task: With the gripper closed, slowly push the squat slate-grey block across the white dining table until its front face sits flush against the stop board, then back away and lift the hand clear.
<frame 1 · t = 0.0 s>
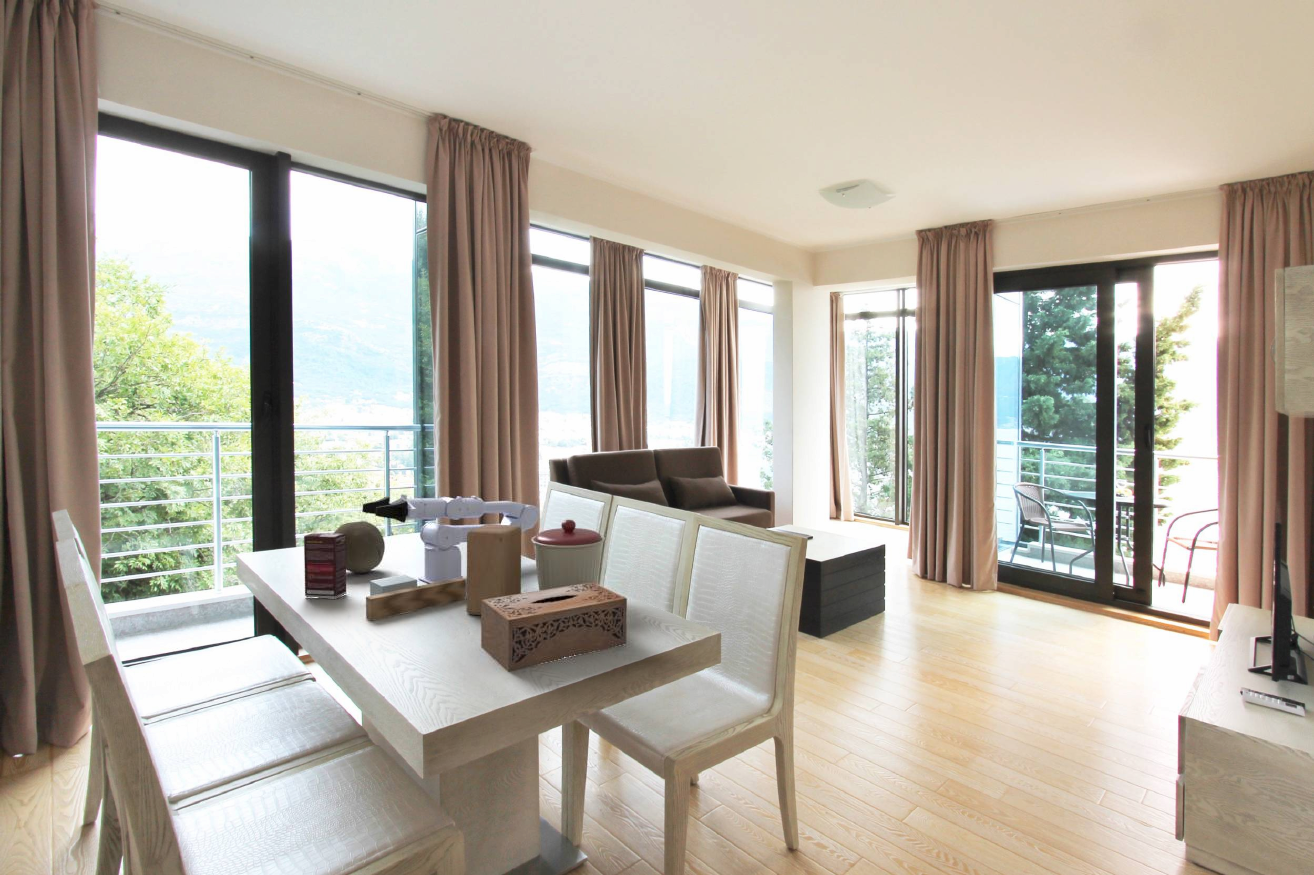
hand: (369, 509, 165), 22 cm above the table, tool horizontal, fingers open, 7 cm apart
wooden block: (494, 611, 154), on the table
cantaloupe: (357, 573, 185), on the table
canister: (567, 604, 161), on the table
block: (393, 597, 164), on the table
board: (418, 608, 155), on the table
tissue box cover: (554, 647, 132), on the table
supplement box: (325, 597, 163), on the table
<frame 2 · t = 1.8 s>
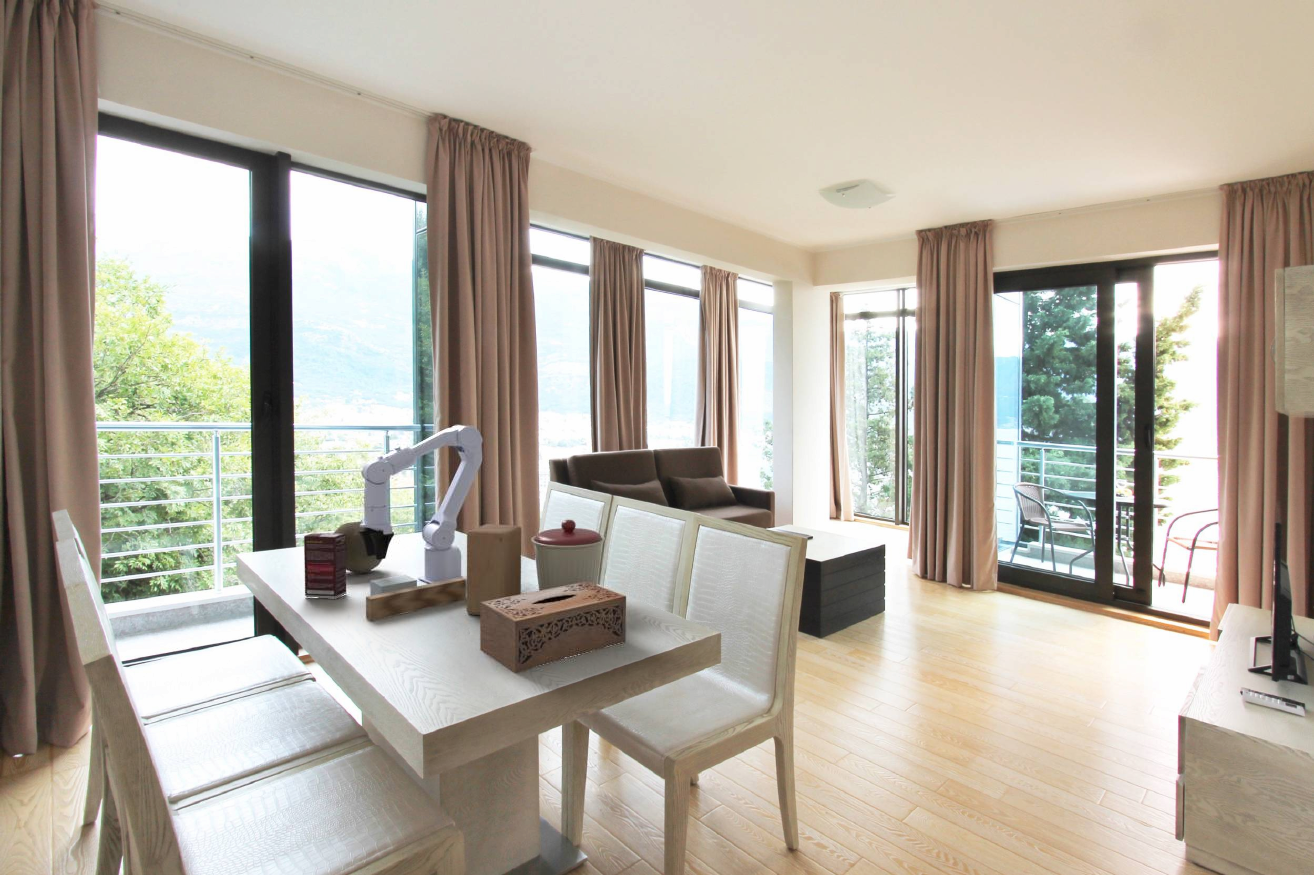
hand: (376, 557, 170), 8 cm above the table, tool pointing down, fingers open, 5 cm apart
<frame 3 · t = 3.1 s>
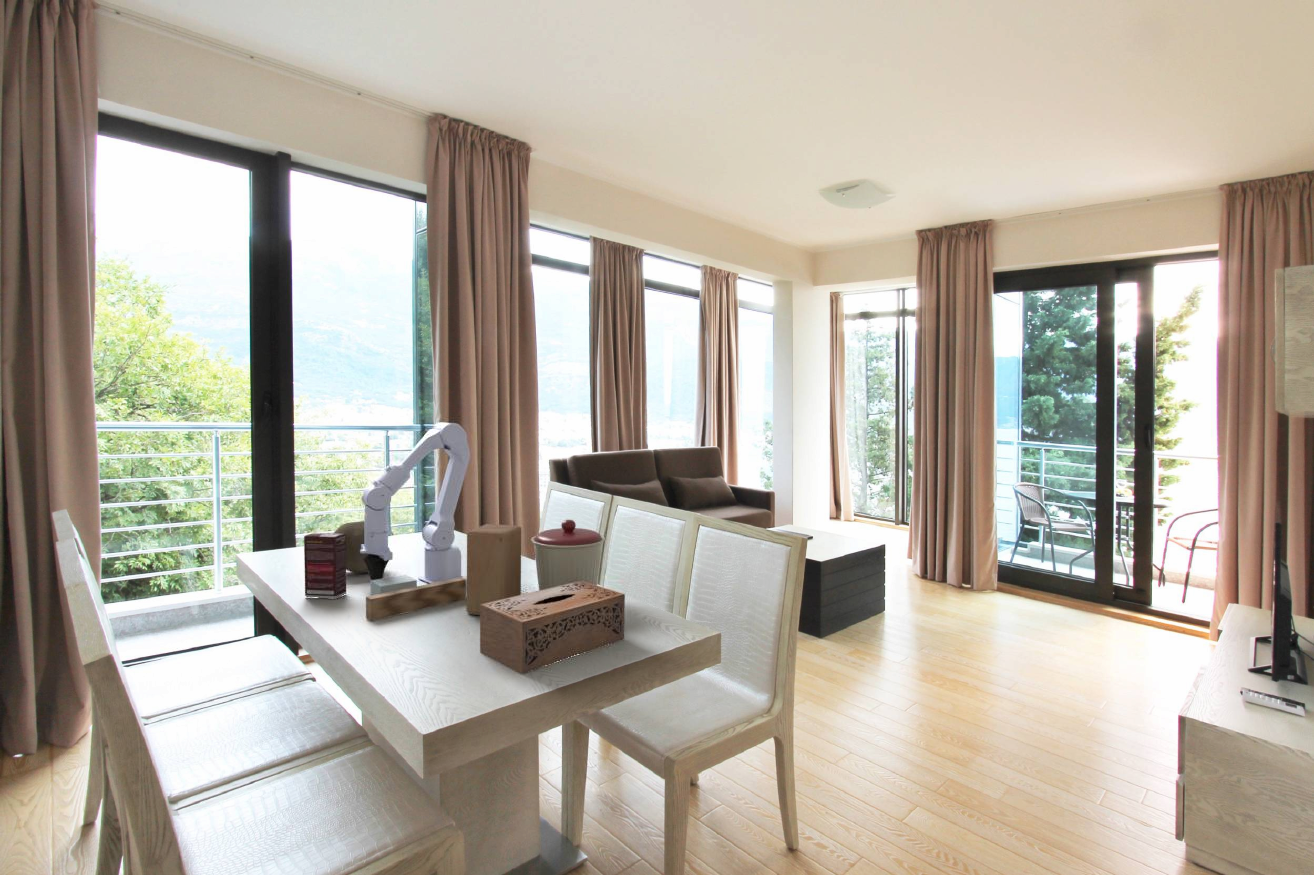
hand: (376, 582, 170), 2 cm above the table, tool pointing down, fingers closed
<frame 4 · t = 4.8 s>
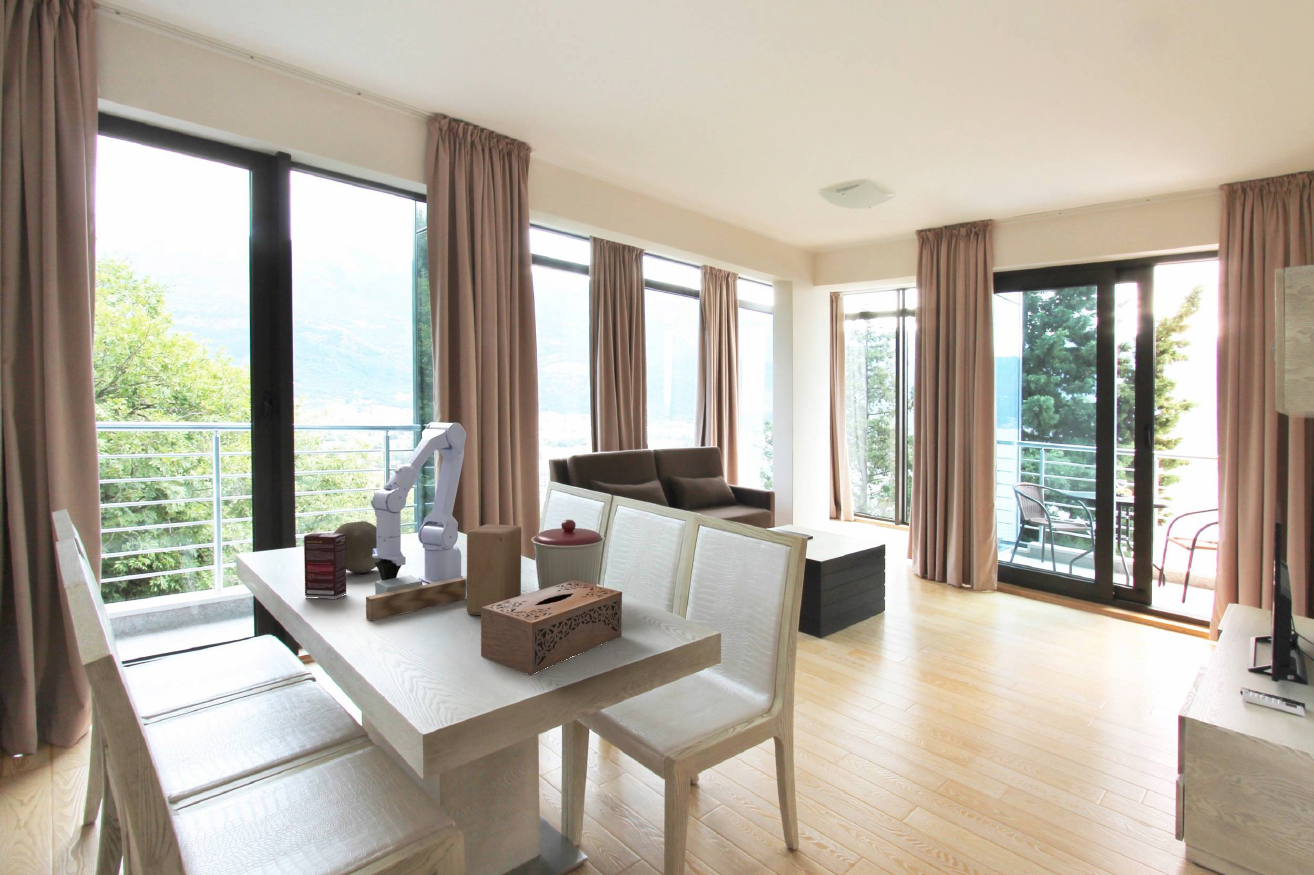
hand: (388, 588, 165), 2 cm above the table, tool pointing down, fingers closed
block: (399, 598, 162), on the table, touching gripper
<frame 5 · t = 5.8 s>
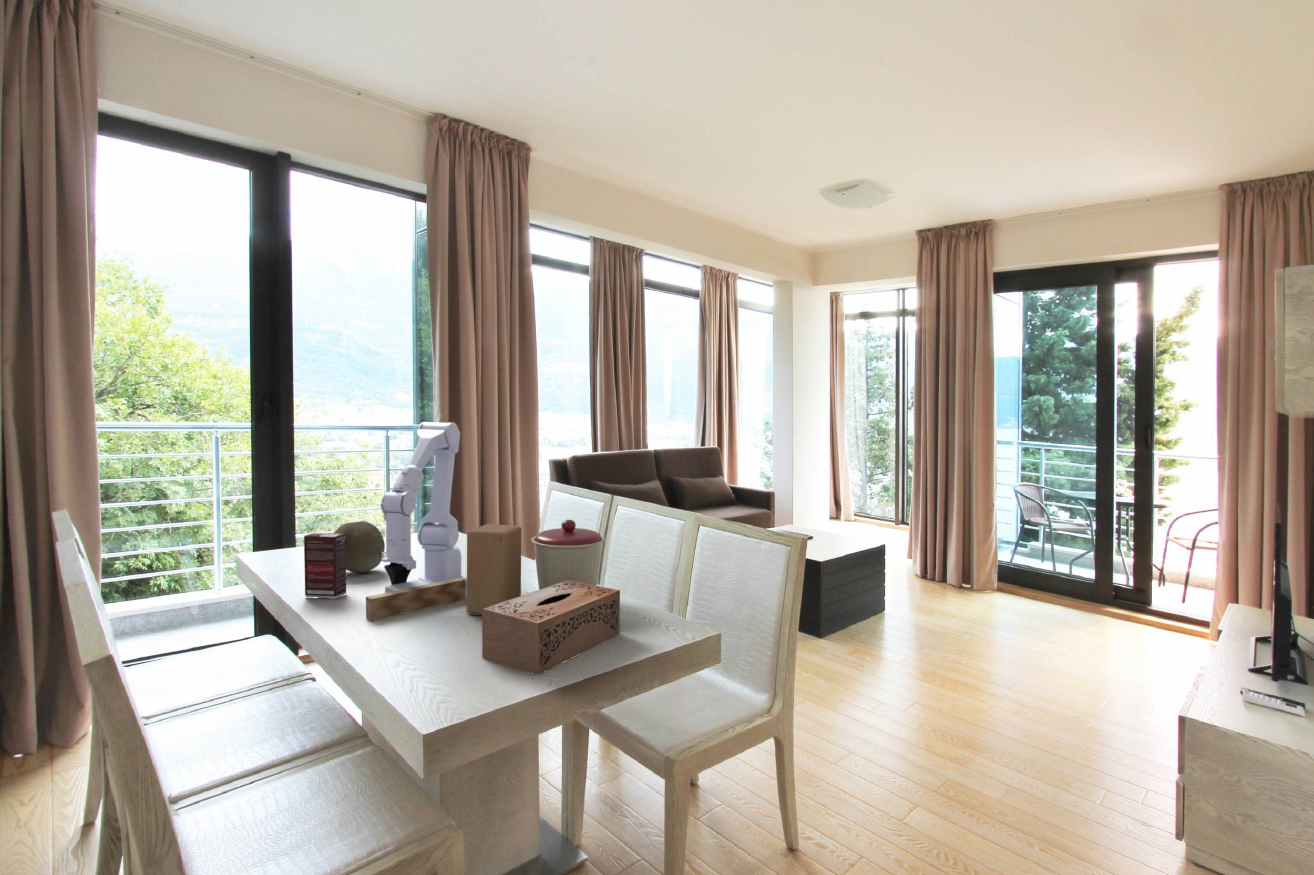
hand: (398, 592, 162), 2 cm above the table, tool pointing down, fingers closed
block: (409, 603, 159), on the table, touching gripper
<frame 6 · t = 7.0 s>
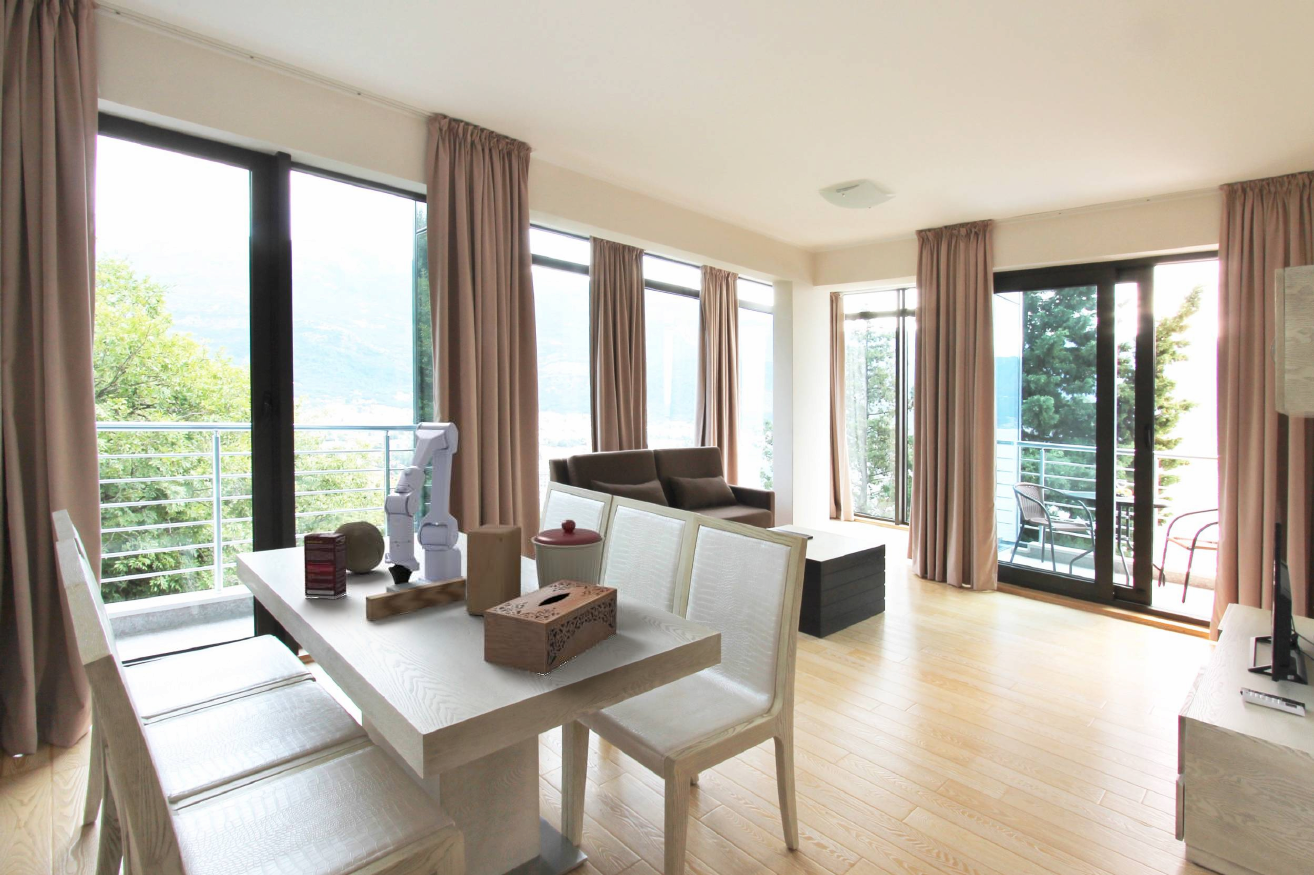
hand: (401, 594, 161), 2 cm above the table, tool pointing down, fingers closed, pressing on block
block: (410, 603, 158), on the table, touching board, gripper
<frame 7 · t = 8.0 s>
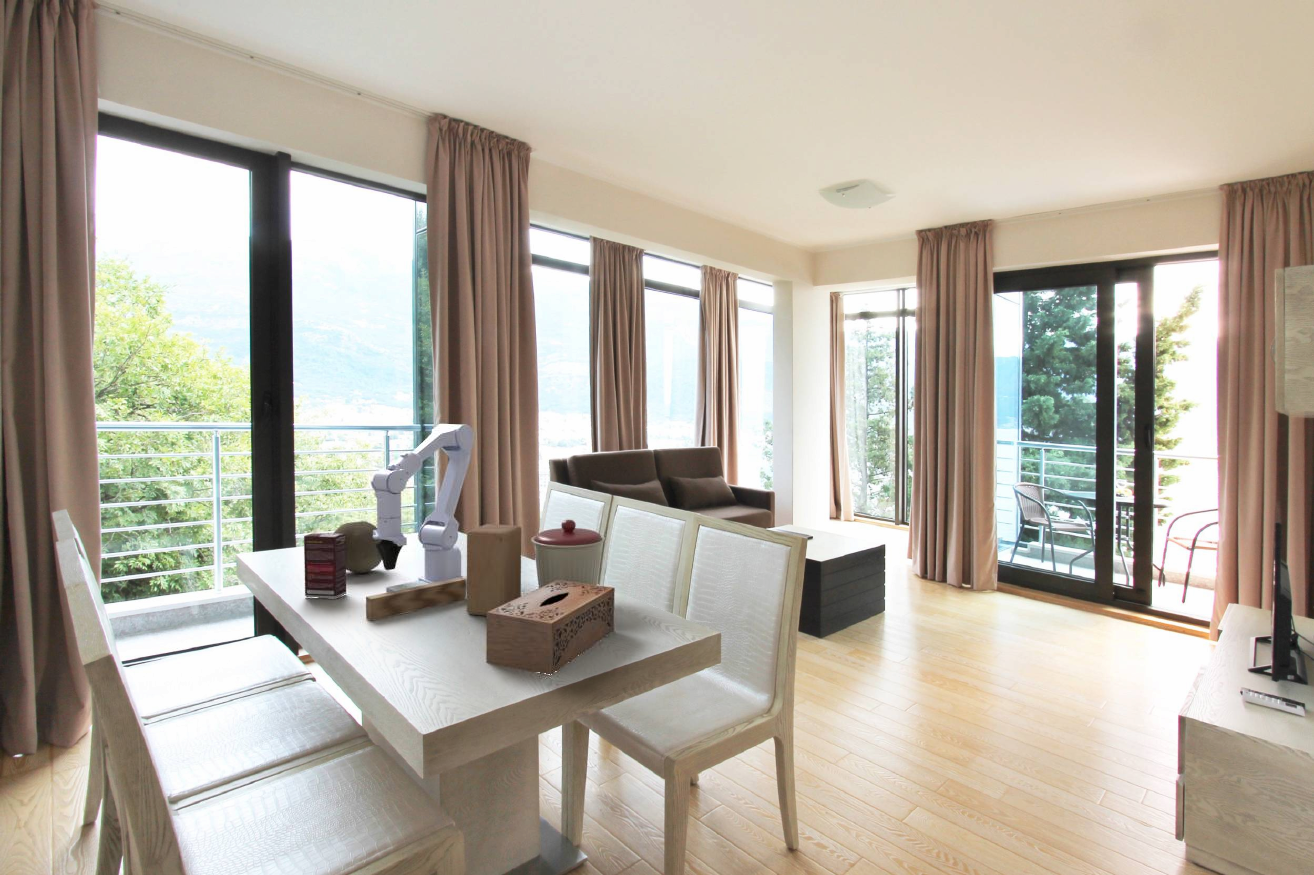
hand: (389, 569, 165), 7 cm above the table, tool pointing down, fingers closed
block: (410, 604, 158), on the table
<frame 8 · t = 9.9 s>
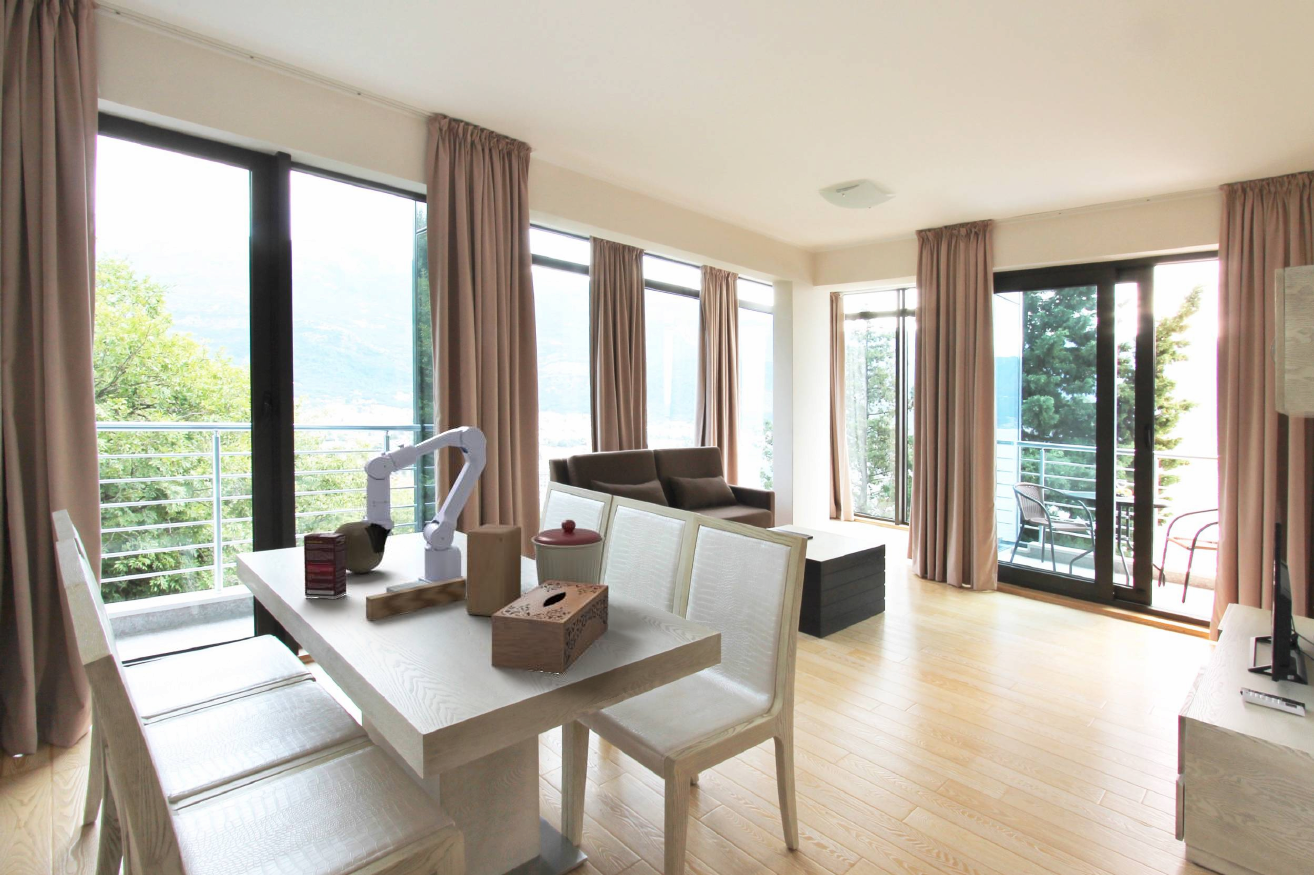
hand: (378, 552, 171), 9 cm above the table, tool pointing down, fingers closed
block: (410, 604, 158), on the table, touching board
at the end: block 0.4 cm from the target spot on the table beside the board, on the table; block tilted 0°; block moved 8.2 cm from its start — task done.
